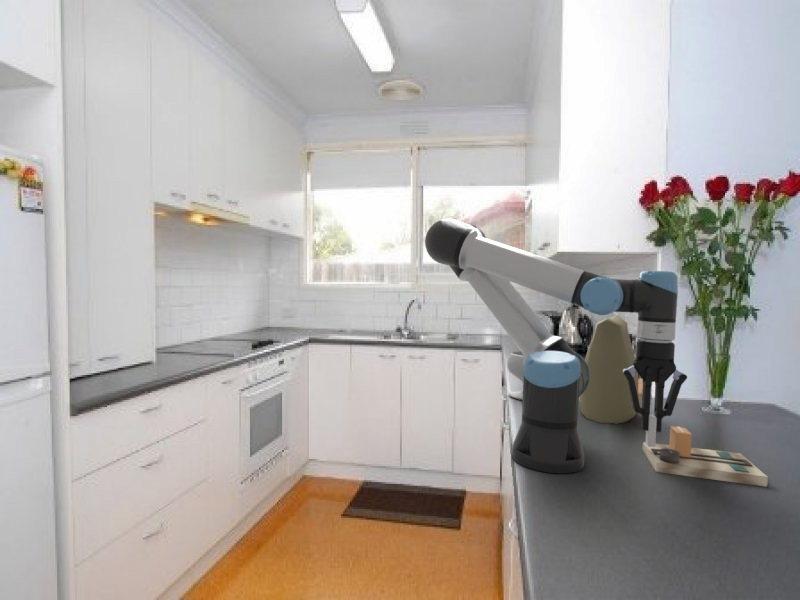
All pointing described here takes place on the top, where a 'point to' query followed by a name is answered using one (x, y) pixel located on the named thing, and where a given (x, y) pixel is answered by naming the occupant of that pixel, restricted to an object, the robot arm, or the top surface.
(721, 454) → the console
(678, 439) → the fader knob
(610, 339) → the container
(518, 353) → the chalice
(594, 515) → the top surface
